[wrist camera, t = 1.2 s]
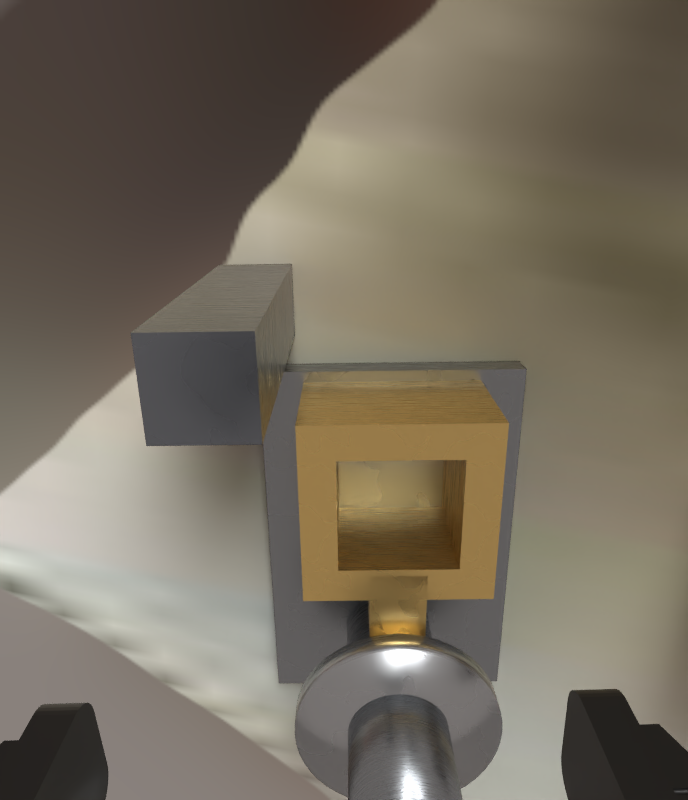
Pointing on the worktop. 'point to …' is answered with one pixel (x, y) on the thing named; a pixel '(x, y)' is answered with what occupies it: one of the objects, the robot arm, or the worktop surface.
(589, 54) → the worktop surface
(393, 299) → the worktop surface
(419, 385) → the rosette stand
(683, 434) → the worktop surface
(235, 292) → the grey square beam
